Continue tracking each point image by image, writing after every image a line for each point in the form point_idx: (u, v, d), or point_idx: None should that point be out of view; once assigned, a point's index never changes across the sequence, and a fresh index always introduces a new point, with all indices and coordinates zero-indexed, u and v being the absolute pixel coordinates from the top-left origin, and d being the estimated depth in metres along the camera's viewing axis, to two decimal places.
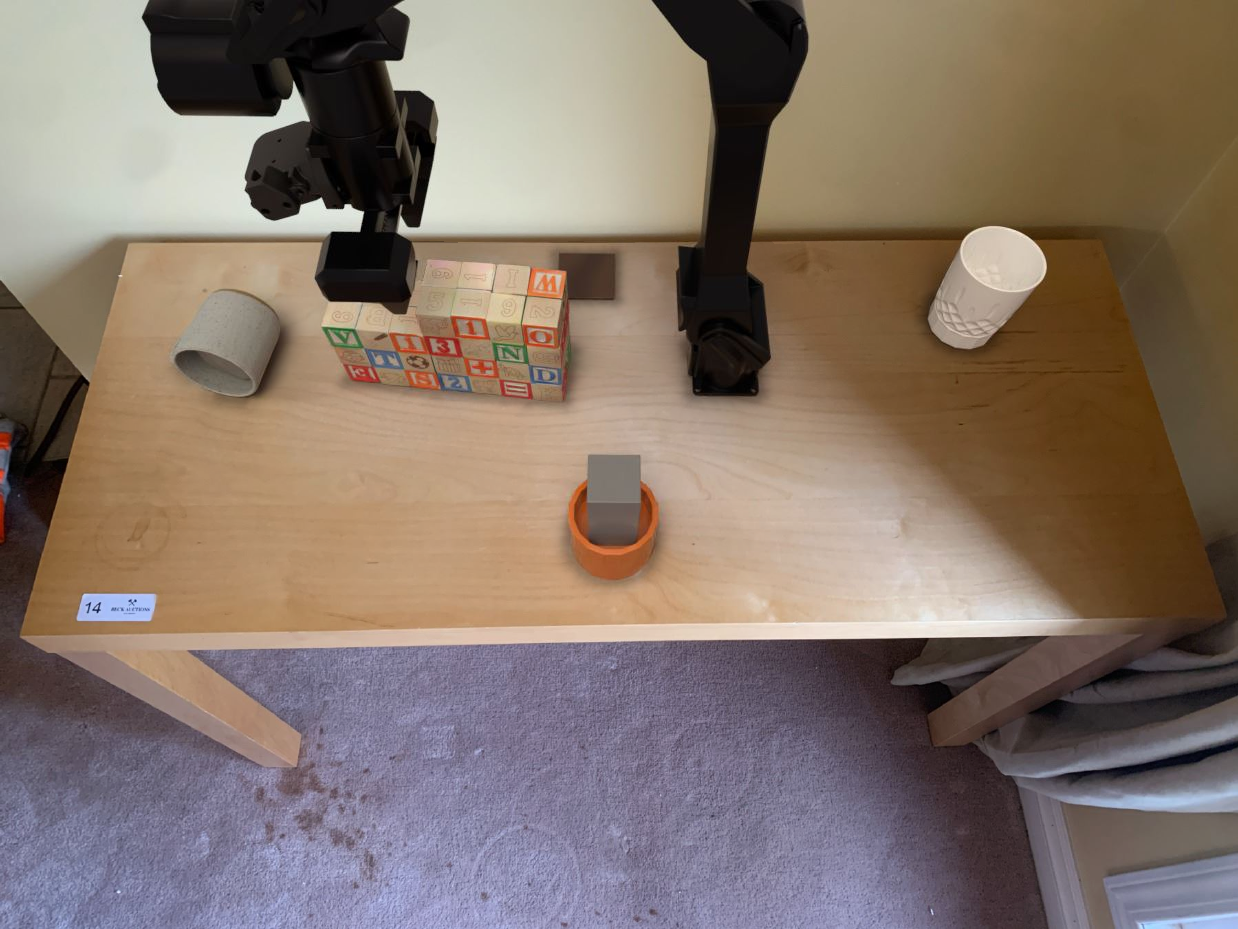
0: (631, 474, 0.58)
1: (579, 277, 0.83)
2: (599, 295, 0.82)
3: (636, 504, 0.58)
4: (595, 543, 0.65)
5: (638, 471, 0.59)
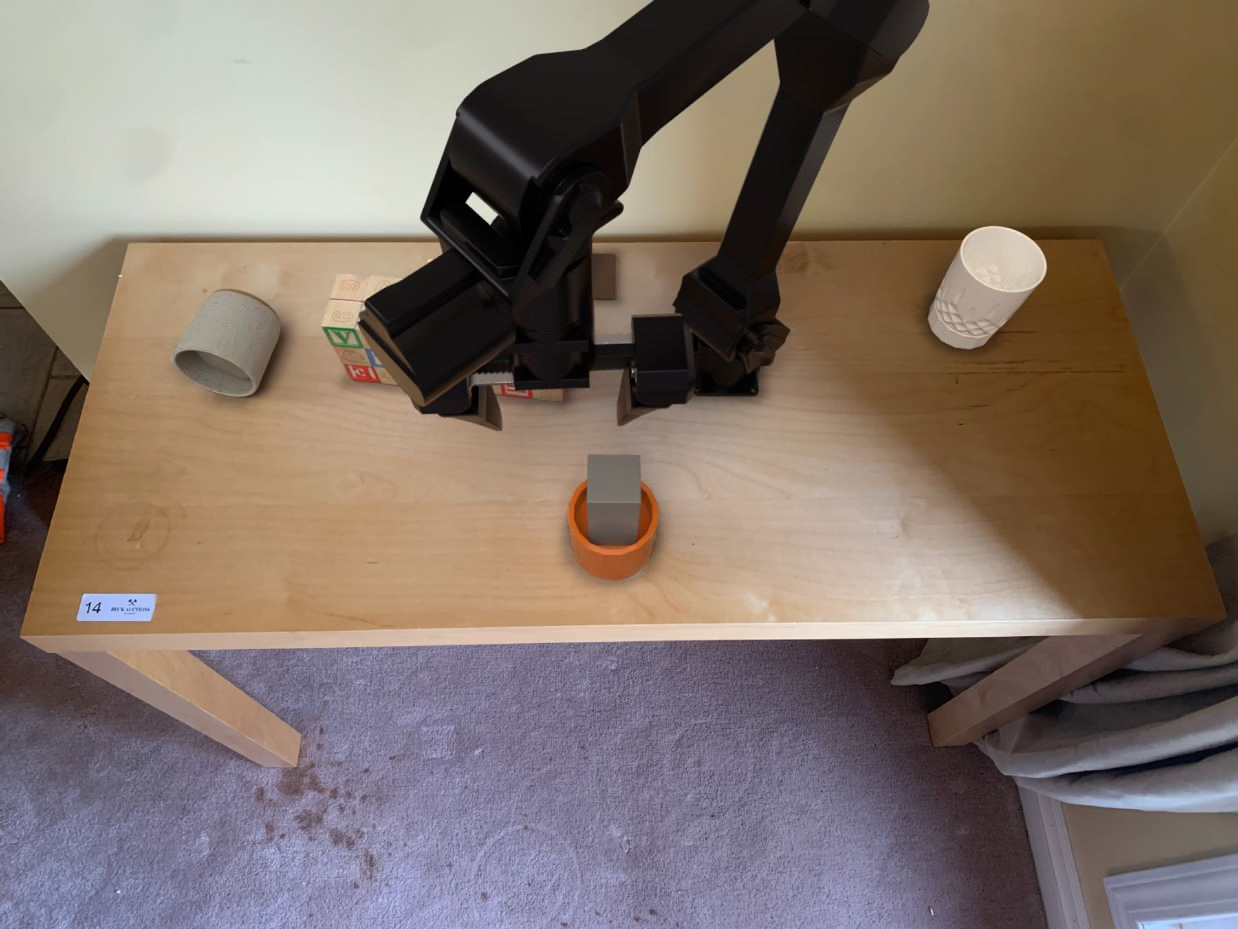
0: (631, 474, 0.58)
1: None
2: (599, 295, 0.82)
3: (636, 504, 0.58)
4: (595, 543, 0.65)
5: (638, 471, 0.59)
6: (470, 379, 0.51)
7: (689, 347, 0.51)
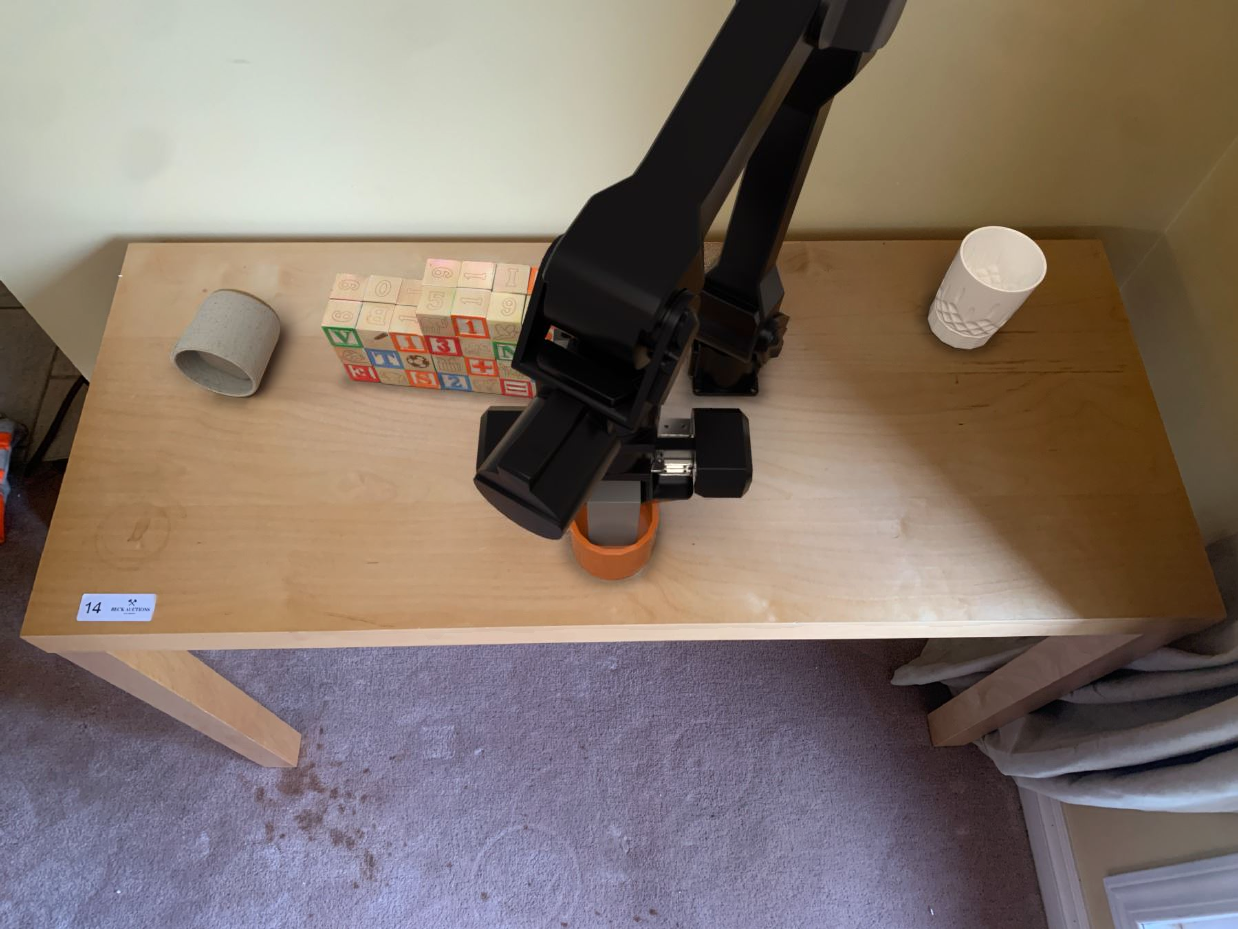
0: None
1: None
2: None
3: (636, 504, 0.58)
4: (595, 543, 0.65)
5: None
6: None
7: (747, 445, 0.53)
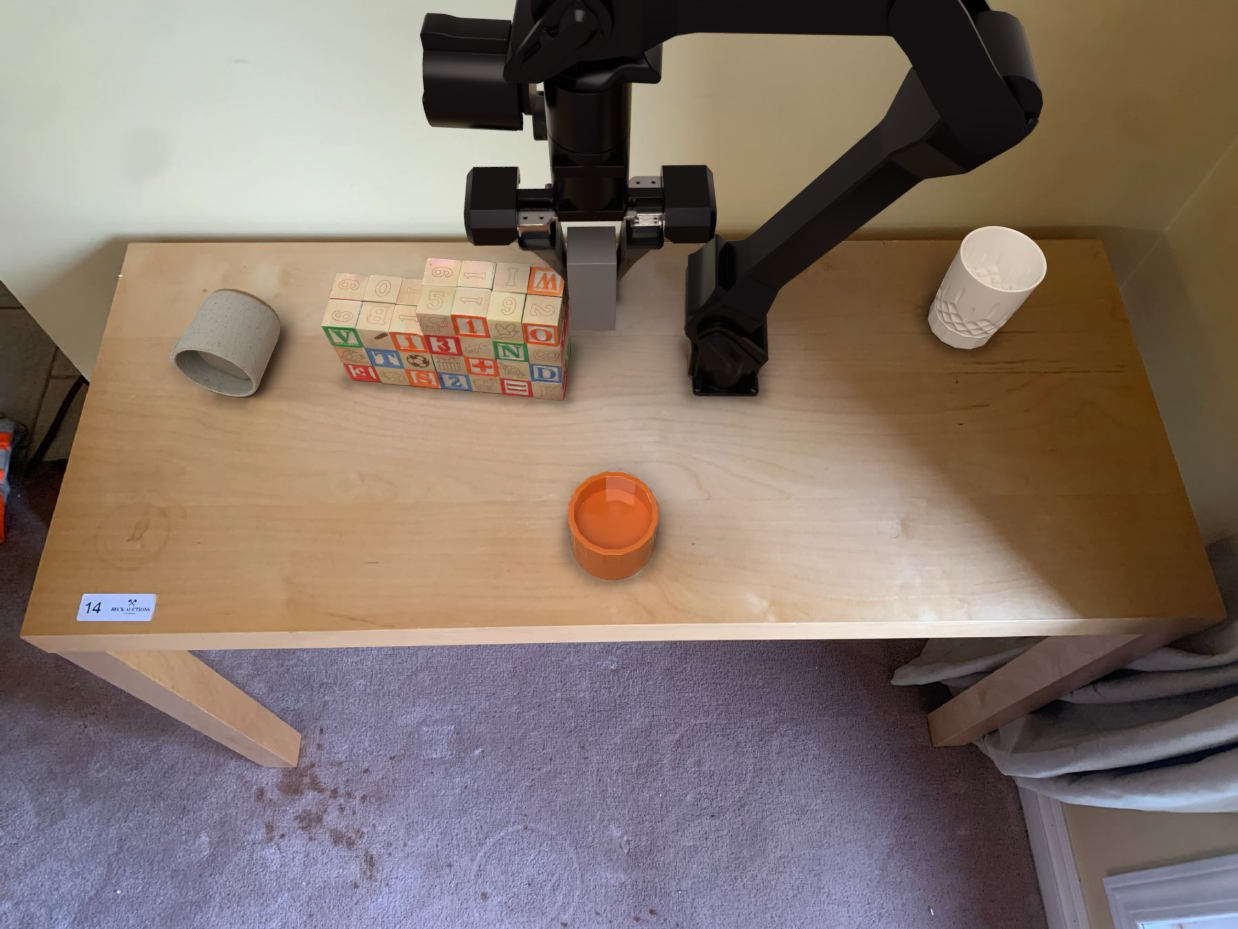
0: (607, 241, 0.63)
1: None
2: None
3: (612, 266, 0.63)
4: (577, 328, 0.70)
5: (613, 239, 0.64)
6: (550, 214, 0.58)
7: (712, 190, 0.58)
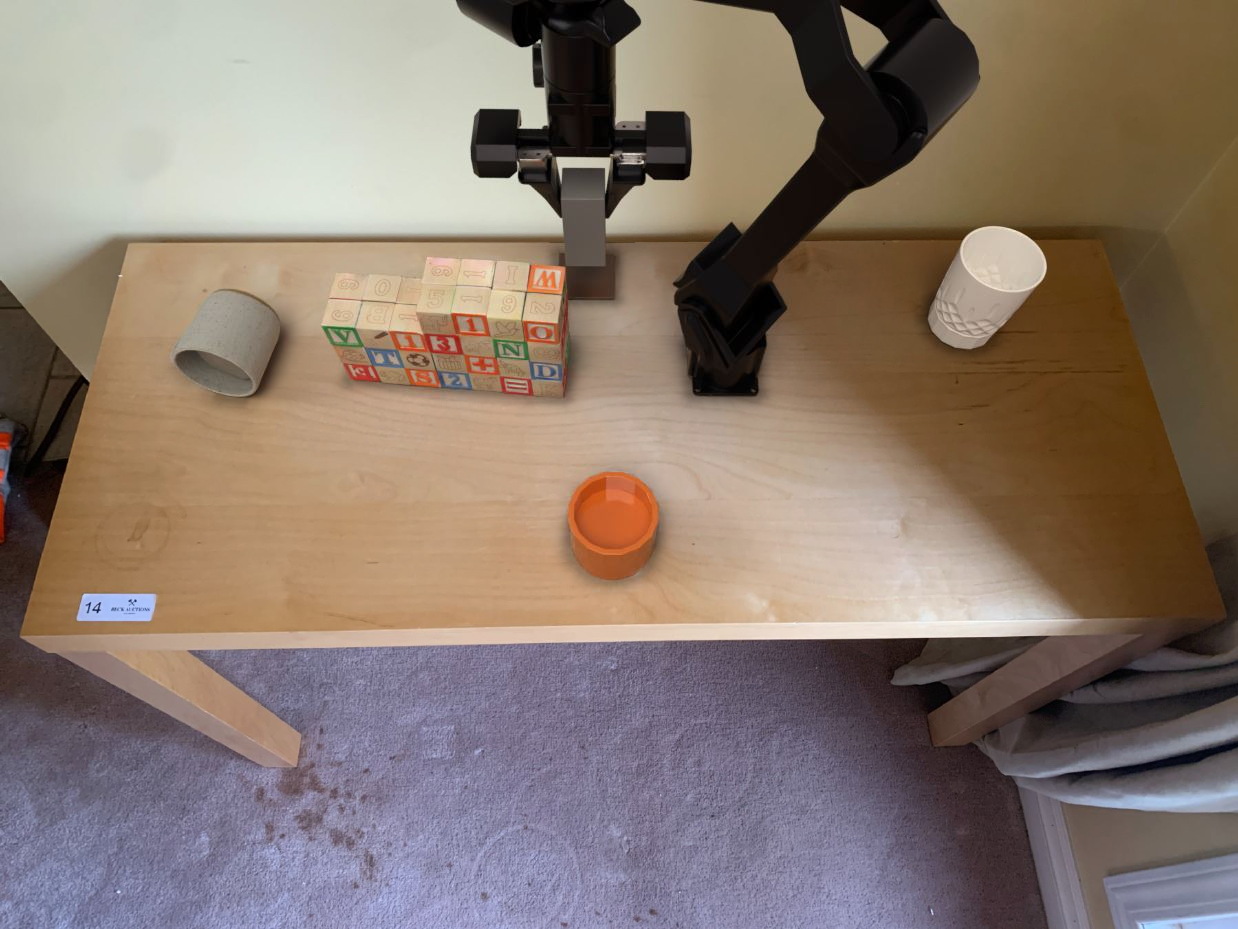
0: (597, 180, 0.72)
1: (579, 277, 0.83)
2: (599, 295, 0.82)
3: (601, 201, 0.71)
4: (571, 263, 0.78)
5: (603, 178, 0.72)
6: (546, 151, 0.67)
7: (688, 133, 0.66)
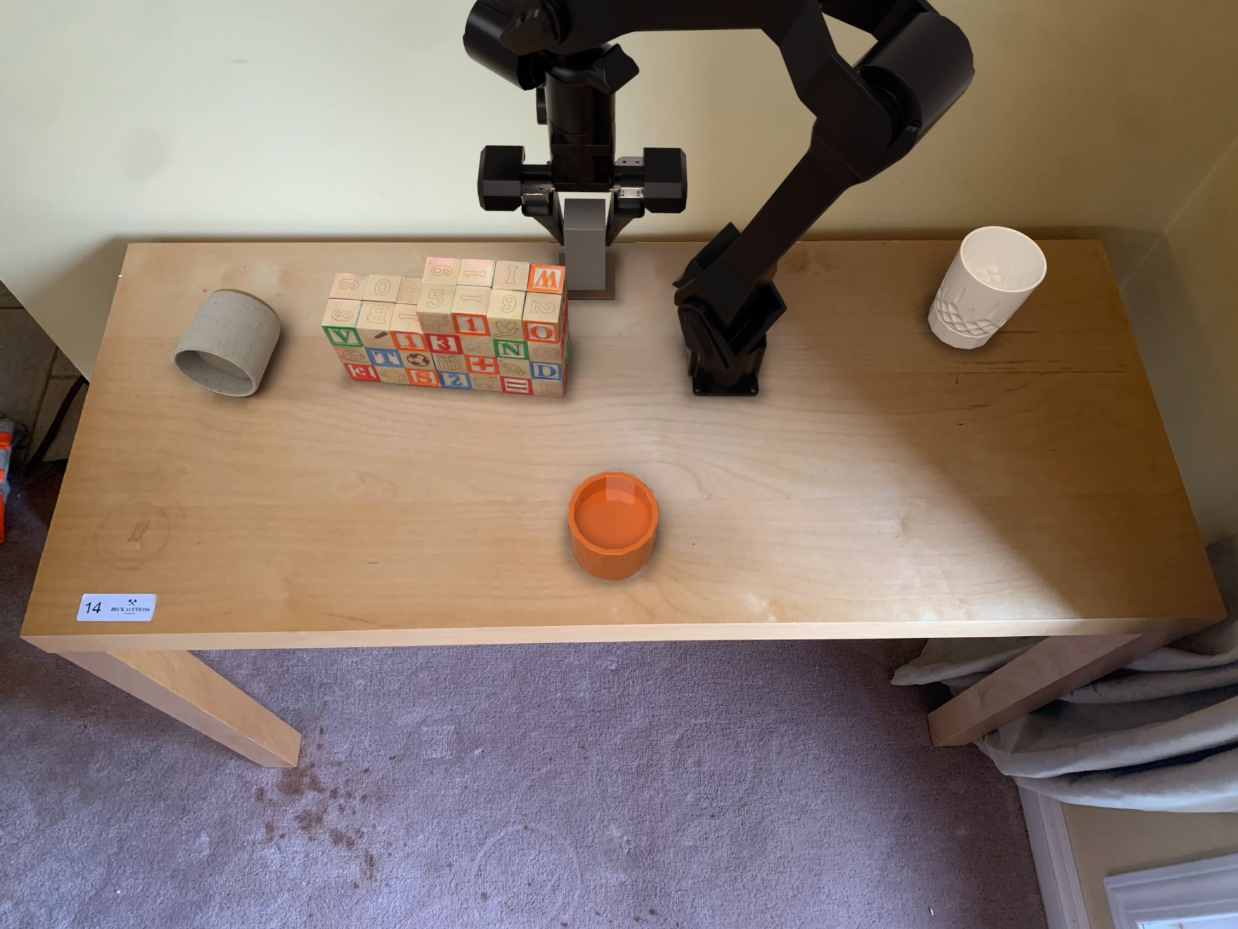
0: (598, 211, 0.75)
1: None
2: (599, 295, 0.82)
3: (601, 231, 0.74)
4: (572, 287, 0.81)
5: (603, 209, 0.75)
6: (549, 185, 0.70)
7: (684, 169, 0.70)
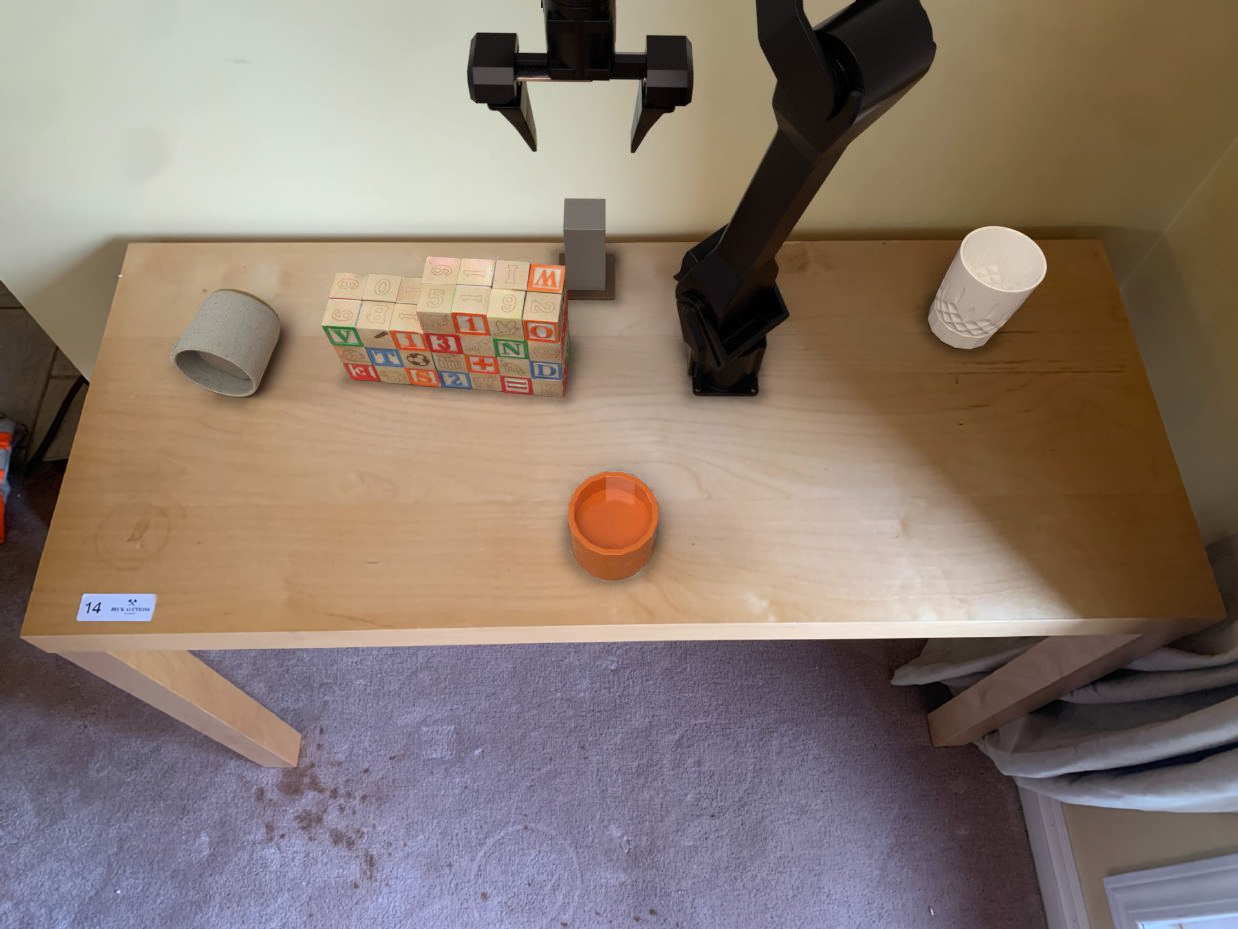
0: (598, 211, 0.75)
1: None
2: (599, 295, 0.82)
3: (601, 231, 0.74)
4: (572, 287, 0.81)
5: (603, 209, 0.75)
6: (515, 75, 0.65)
7: (690, 57, 0.65)
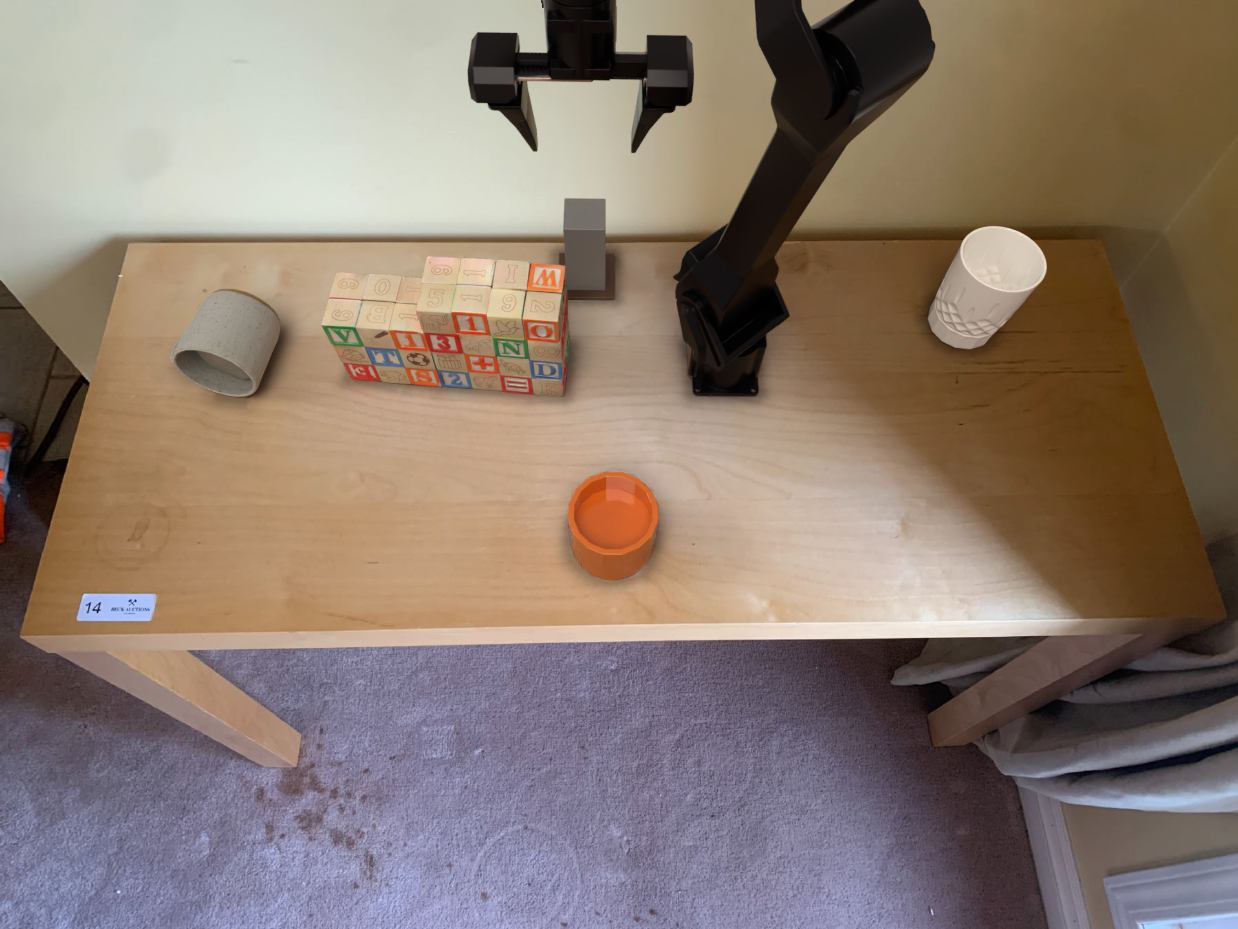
0: (598, 211, 0.75)
1: None
2: (599, 295, 0.82)
3: (601, 231, 0.74)
4: (572, 287, 0.81)
5: (603, 209, 0.75)
6: (516, 74, 0.65)
7: (690, 57, 0.65)
